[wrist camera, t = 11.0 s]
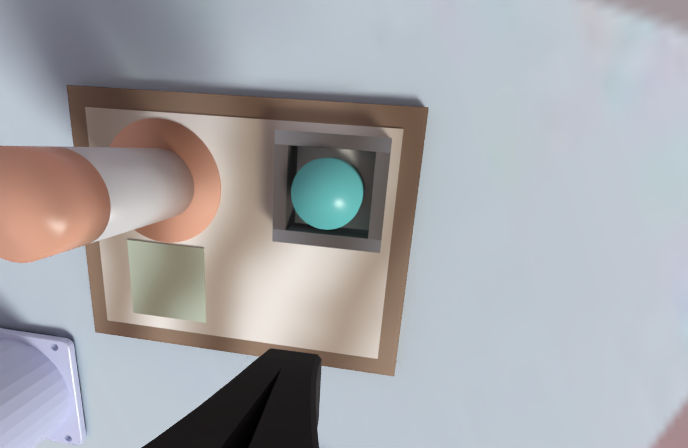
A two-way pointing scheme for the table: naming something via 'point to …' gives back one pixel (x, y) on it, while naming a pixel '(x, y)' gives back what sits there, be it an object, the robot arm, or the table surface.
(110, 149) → the capsule peg
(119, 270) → the beige base plate
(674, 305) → the table surface
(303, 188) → the button
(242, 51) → the table surface
